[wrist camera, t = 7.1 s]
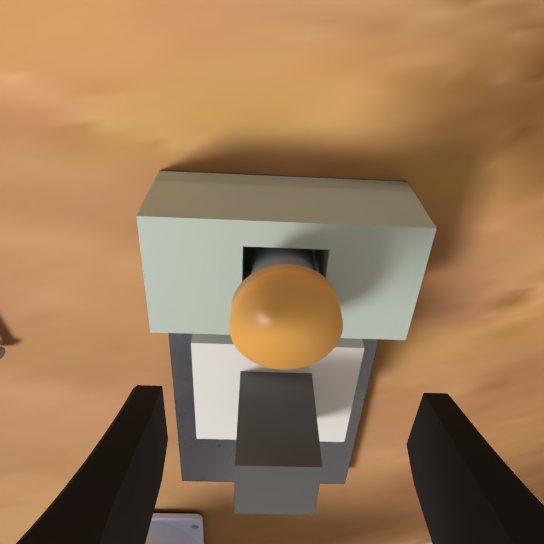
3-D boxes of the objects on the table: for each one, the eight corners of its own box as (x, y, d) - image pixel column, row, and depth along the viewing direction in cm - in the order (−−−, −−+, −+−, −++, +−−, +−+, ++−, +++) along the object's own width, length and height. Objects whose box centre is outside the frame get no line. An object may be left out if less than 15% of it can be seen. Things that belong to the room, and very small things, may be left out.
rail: (342, 469, 30) (347, 499, 28) (184, 466, 29) (179, 496, 28) (406, 181, 19) (420, 202, 17) (159, 170, 19) (148, 191, 17)
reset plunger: (323, 300, 19) (335, 371, 16) (235, 297, 19) (229, 368, 16) (334, 222, 17) (350, 284, 14) (236, 218, 17) (229, 280, 14)
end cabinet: (384, 282, 22) (405, 340, 18) (168, 274, 21) (150, 332, 18) (406, 181, 19) (436, 228, 16) (159, 170, 19) (136, 215, 15)
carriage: (339, 415, 24) (360, 536, 19) (200, 411, 23) (182, 534, 18) (357, 322, 20) (388, 440, 15) (195, 317, 20) (172, 435, 15)
